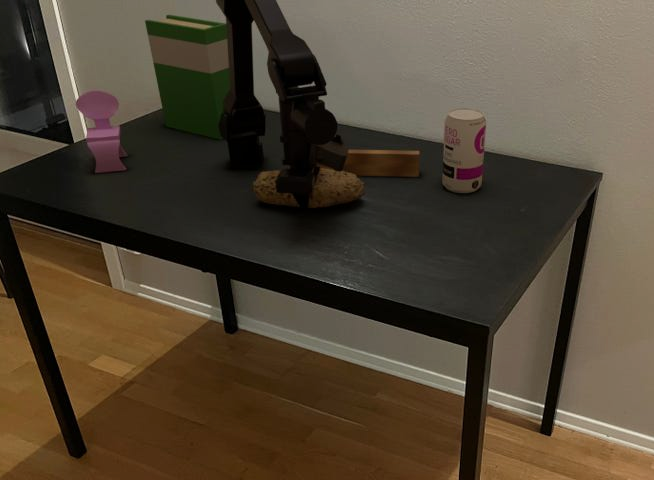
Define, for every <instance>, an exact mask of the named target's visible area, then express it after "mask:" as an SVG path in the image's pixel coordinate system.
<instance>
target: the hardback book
mask: <svg viewBox="0 0 654 480" xmlns="http://www.w3.org/2000/svg"><path fill="white" fill-rule="evenodd" d="M165 17H166V18H165V19H161V20H153V19H146V20H145V19H144V23H145V29H146V34H147V38H148V45H149V48H150V53H151V59H152V65H153V68H154V73H155V79H156V83H157V88H158V93H159V94H158V95H159V99H160V103H161V108H162V113H163V114H162V115H163V119H164V123H165V127H166V128H171V129H175V130H180V131H184V132H188V133H191V134H196V135H200V136H205V137H208V138H211V139H212V138H213V139H217V140H224V139H223V138H222V137H221V135H220V131H219V127H218V125H219V121H220V117H221V113H223V100H224V98H225V97H226V95H227V93H228V92H229V90H230V78H229V61H228V44H227V27H226V22H225V23H224V22H218V21H212V20H206V19H199V18H193V17H187V16H181V15H174V14H166V15H165Z"/></svg>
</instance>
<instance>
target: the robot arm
mask: <svg viewBox="0 0 654 480" xmlns="http://www.w3.org/2000/svg"><path fill="white" fill-rule="evenodd" d="M215 3H216V5H217V6H218V8H219V10H220V11H221V12H222V14H223V16H224V18H225V23H226V27H227V44H228V61H229V78H230V90H229V92H228V93H227V95H226V97H225V98H224V100H223V113H221V117H220V121H219V125H218V127H219V131H220V135H221V137H222V138H223V139H222V140H224V141H225V142H226V143H227V148H228V149H227V150H228V156H229V164H228V169H238V170H239V169H243V170H258V169H259V168H260V167H261V165H262V163H263V161H264V160H265V154H264V147H263V141H262V140H260V137H265V136H266V122H267V121H266V117H267V114H266V113H265V110H264V108H263V106H262V104H261V103H260V101H259V99H258V98H257V97H256V95H255V81H254V80H255V78H254V77H255V76H254V52H253V51H254V50H253V22H254V24H255V25H256V28H257V29H258V31H259V34H260V36H261V38H262V40H263V41H264V44H265V46H266V49H267V51H268V54H267V61H266V67H267V73H268V77H269V79H270V81H271V84H272V86H273V88H274V90H275V93H276V95H277V96H278V106H279V117H280V128H281V133H280V135H279V141H280V143H282V147H283V157H282V159H281V161H282V162H281V163H282V166H288V167H287V168H282V169H283V170H282V171H281V172H280V173H279V174H278V176H277V179H276V181H275V183H276V192H278V193H292V195H293V196H294V198H295V199H296V201H297V203H298V204H299V206H300V207H299V208H300V209H301V211H308V210H309V208H308V206H309V199H310V193H312V192H313V189H314V185H315V183H316V181H317V178H318V176H317V175H318V174H319V172H320V168H321V167H318V166H317V162H318V163H319V164H321V165H324V166H327V167H330V168H332V169H334V170H335V171H338V172H341V171H342V170H343V167H344V164H345V161H346V158H347V155H348V151H349V150H350V149H349V147H348V144H345V140H344V135H343V134H340V133H338V126H339V125H338V121H337V119H336V116H335V115H334V113H332V112H331V111H330V110H329V109H327V108H326V102H325V101H324V100H322V99H320V97H324V96H326V97H327V95H328V91H327V88H326V86H327V81H326V79H325V76H324V73H323V71H322V69H321V66H320V63H319V62H318V59H317V57H316V55H315V54H314V53H313V52H312V50H311V48H310V47H309V45H308V43H307V42H306V41H305V40H304V39H303V38H301V37H300V36H297V35H296V34H294V33H293V31H292V29H291V27H290V26H289V23H288V21H287V19H286V17H285V15H284V14H283V11H282V9H281V8H280V5H279V4H278V1H277V0H215ZM313 83H314V85H312V84H313ZM301 86H302V87H301Z"/></svg>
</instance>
